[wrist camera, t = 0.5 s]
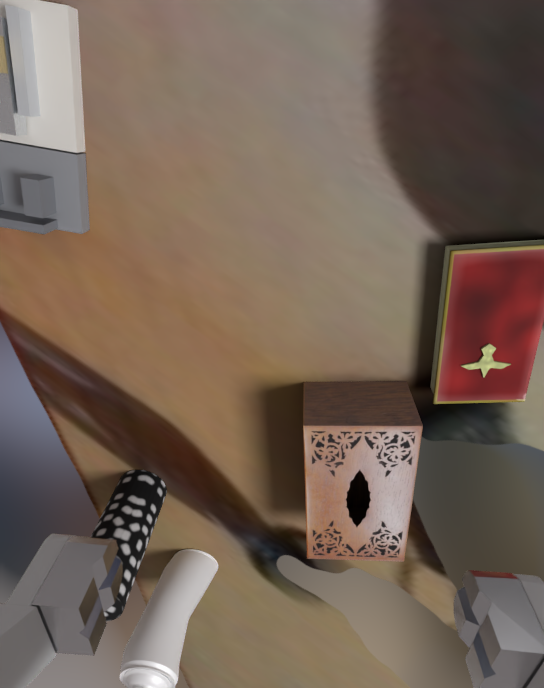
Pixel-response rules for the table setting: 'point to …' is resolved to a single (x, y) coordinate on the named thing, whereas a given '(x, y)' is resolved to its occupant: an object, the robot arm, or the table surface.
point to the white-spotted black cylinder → (131, 526)
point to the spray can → (166, 621)
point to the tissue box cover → (359, 468)
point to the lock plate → (44, 122)
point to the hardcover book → (488, 322)
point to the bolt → (8, 89)
